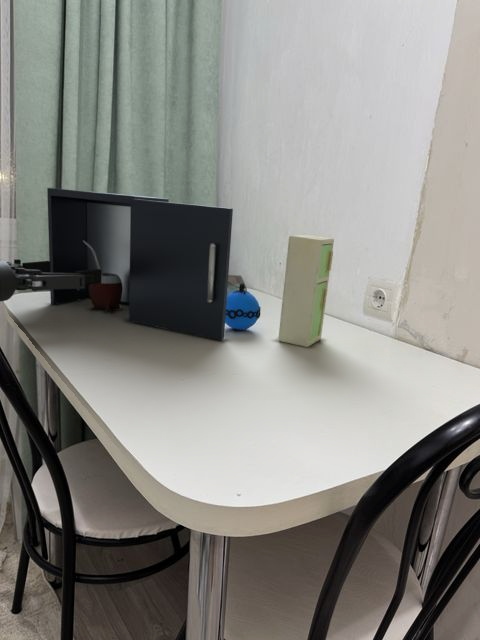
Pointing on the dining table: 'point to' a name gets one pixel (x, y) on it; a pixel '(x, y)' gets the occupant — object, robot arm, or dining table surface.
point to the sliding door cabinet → (146, 255)
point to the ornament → (241, 309)
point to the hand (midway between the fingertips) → (74, 271)
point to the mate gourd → (105, 290)
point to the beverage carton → (234, 283)
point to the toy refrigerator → (305, 289)
